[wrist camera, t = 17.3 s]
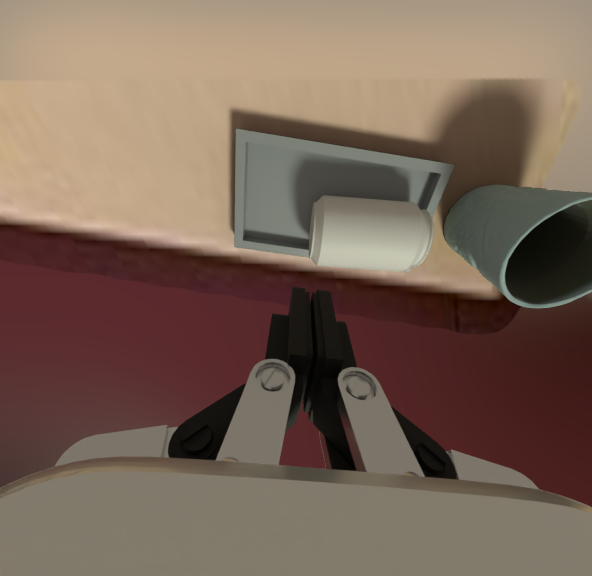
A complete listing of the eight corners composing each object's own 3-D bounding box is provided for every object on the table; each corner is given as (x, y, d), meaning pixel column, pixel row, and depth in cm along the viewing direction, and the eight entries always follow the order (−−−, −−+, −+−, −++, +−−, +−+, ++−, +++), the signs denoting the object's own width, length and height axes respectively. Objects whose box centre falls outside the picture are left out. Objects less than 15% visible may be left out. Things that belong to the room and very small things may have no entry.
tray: (238, 240, 33) (234, 247, 31) (241, 129, 26) (235, 128, 24) (402, 263, 34) (409, 271, 32) (443, 162, 28) (455, 164, 25)
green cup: (424, 251, 33) (479, 302, 23) (459, 168, 28) (550, 186, 18) (497, 260, 33) (583, 314, 23) (545, 180, 28) (683, 204, 18)
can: (314, 231, 22) (448, 241, 22) (315, 179, 26) (429, 188, 26) (307, 278, 28) (410, 285, 29) (309, 230, 32) (400, 237, 32)
